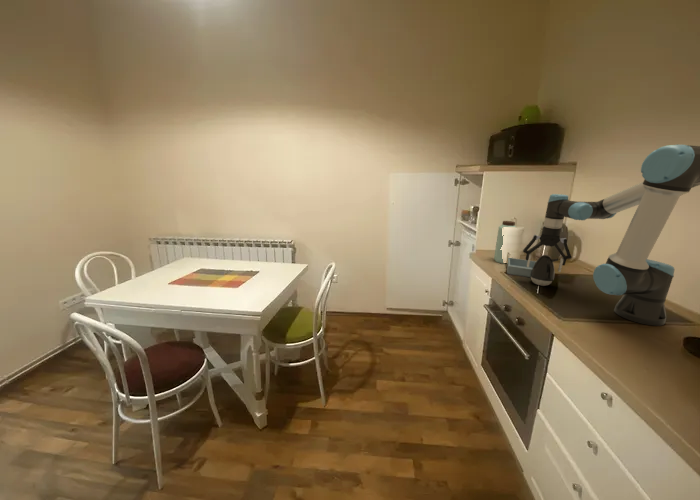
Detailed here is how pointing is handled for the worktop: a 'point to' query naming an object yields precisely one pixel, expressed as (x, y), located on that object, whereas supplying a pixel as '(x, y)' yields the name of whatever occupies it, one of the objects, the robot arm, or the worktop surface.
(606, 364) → the worktop surface
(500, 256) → the water bottle
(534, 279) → the pump dispenser
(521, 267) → the bin
